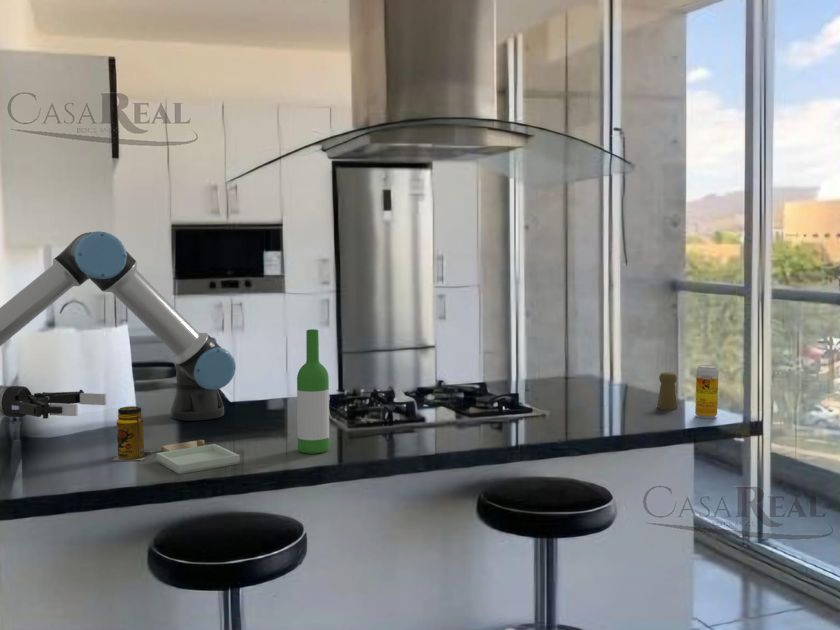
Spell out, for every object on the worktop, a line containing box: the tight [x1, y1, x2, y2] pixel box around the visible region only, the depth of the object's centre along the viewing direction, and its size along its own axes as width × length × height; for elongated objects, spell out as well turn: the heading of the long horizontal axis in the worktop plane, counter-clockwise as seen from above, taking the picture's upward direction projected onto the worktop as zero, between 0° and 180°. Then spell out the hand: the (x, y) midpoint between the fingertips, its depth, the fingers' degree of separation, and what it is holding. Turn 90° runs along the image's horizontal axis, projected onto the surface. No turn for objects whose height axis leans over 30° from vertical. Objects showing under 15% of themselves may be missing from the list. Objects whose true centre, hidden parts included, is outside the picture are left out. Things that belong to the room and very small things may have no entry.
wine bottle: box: [296, 328, 330, 455], centre depth 207 cm, size 8×8×30 cm
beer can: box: [694, 364, 720, 419], centre depth 248 cm, size 6×6×15 cm
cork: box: [656, 371, 678, 411], centre depth 261 cm, size 6×6×11 cm
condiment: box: [112, 405, 154, 462], centre depth 203 cm, size 7×8×12 cm
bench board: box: [160, 439, 206, 452], centre depth 208 cm, size 9×8×2 cm
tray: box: [156, 443, 241, 475], centre depth 197 cm, size 15×14×2 cm
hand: (91, 404), depth 203 cm, fingers open, 13 cm apart
